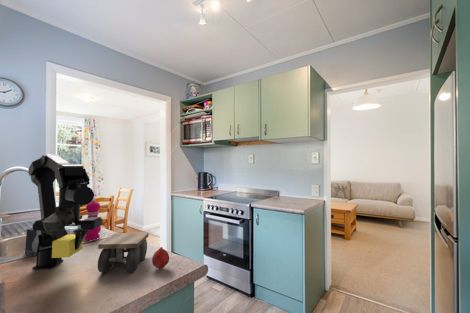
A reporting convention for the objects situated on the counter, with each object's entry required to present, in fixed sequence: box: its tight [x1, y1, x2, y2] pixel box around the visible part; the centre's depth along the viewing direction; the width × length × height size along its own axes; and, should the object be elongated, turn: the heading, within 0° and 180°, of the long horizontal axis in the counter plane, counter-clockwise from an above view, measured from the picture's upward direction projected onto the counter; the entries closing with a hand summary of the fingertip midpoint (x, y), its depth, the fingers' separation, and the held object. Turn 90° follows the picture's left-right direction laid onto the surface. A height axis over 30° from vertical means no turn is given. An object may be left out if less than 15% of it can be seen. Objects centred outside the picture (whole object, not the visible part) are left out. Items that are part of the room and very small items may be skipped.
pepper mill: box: [84, 198, 102, 242], centre depth 108 cm, size 7×7×20 cm
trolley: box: [97, 232, 149, 273], centre depth 80 cm, size 13×16×10 cm
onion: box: [151, 246, 170, 271], centre depth 78 cm, size 6×6×8 cm
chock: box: [52, 233, 84, 259], centre depth 71 cm, size 5×7×5 cm
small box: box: [24, 227, 38, 257], centre depth 93 cm, size 11×6×10 cm, turn 168°
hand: (68, 249), depth 71 cm, fingers closed on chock, 5 cm apart
